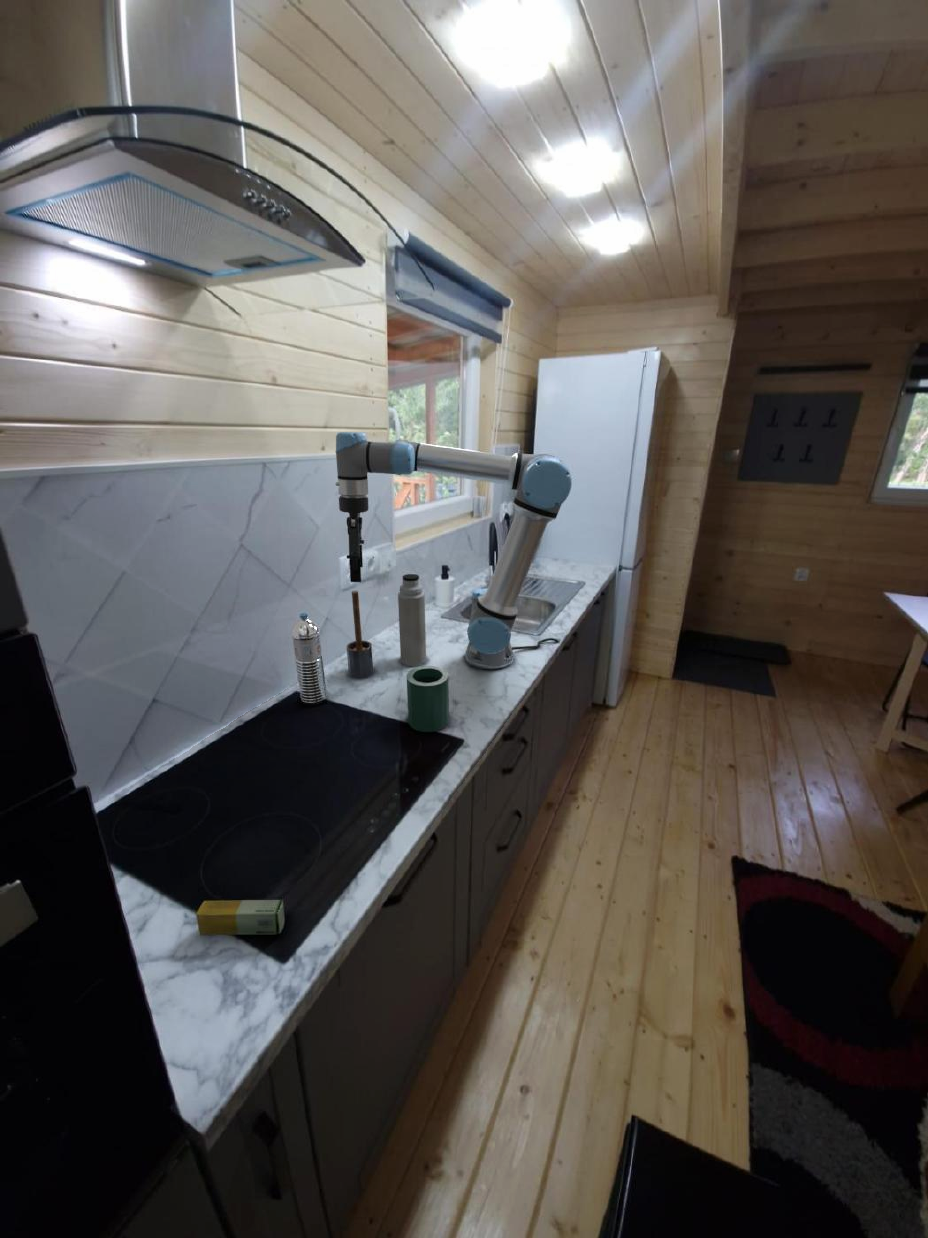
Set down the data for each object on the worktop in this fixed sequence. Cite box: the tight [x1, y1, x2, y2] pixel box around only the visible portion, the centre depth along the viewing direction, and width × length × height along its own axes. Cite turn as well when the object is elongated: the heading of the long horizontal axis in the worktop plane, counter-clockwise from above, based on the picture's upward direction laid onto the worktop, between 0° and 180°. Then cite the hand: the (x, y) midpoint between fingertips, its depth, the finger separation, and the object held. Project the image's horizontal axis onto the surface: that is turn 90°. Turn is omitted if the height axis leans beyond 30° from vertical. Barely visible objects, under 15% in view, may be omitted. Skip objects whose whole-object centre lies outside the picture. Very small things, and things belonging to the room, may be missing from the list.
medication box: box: [195, 899, 286, 936], centre depth 74 cm, size 12×3×4 cm, turn 92°
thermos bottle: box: [397, 573, 427, 667], centre depth 151 cm, size 8×8×28 cm
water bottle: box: [291, 612, 328, 707], centre depth 129 cm, size 7×7×25 cm
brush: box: [351, 590, 366, 650], centre depth 144 cm, size 4×4×25 cm
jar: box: [405, 665, 450, 733], centre depth 123 cm, size 10×10×13 cm
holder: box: [346, 640, 374, 679], centre depth 147 cm, size 7×7×9 cm
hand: (356, 574), depth 136 cm, fingers open, 13 cm apart
